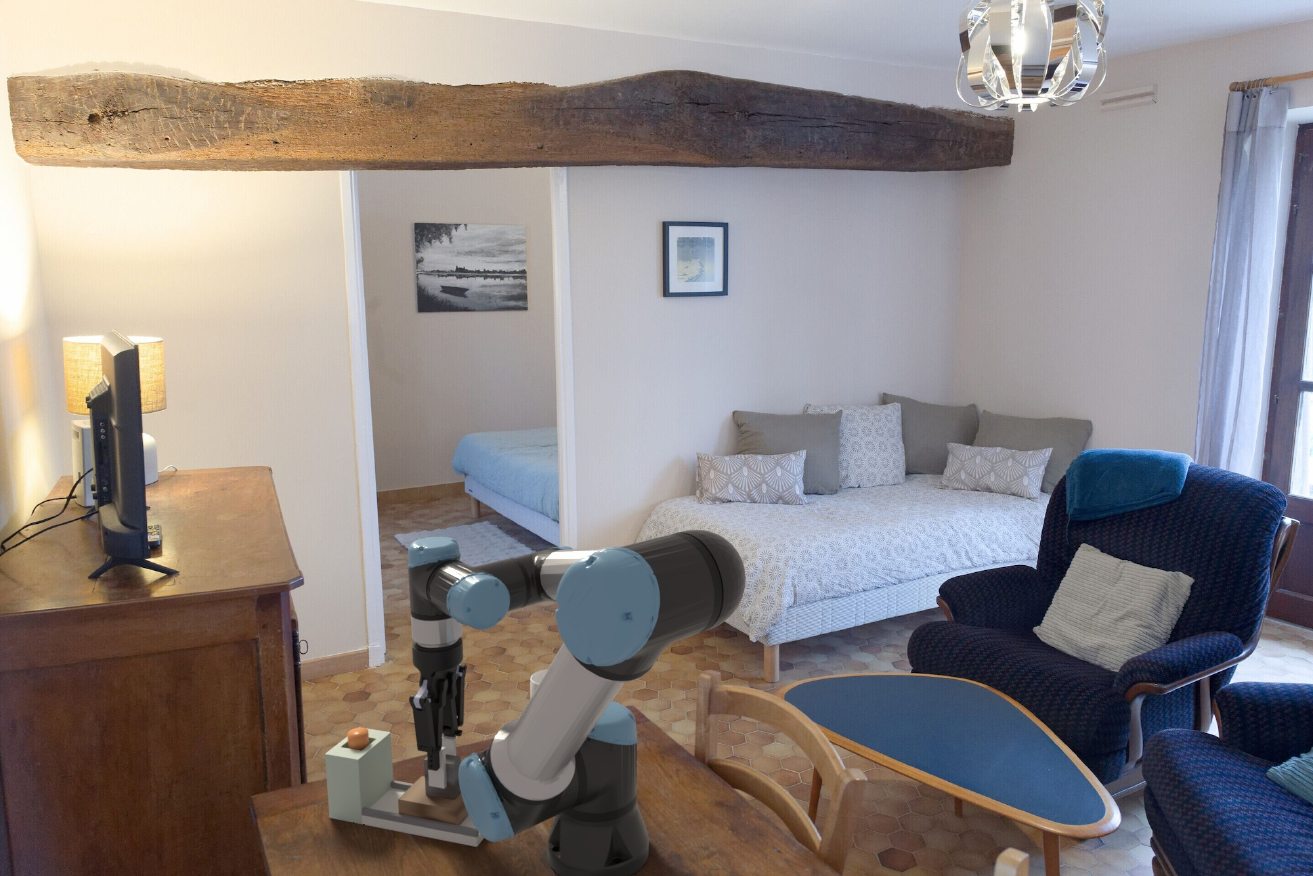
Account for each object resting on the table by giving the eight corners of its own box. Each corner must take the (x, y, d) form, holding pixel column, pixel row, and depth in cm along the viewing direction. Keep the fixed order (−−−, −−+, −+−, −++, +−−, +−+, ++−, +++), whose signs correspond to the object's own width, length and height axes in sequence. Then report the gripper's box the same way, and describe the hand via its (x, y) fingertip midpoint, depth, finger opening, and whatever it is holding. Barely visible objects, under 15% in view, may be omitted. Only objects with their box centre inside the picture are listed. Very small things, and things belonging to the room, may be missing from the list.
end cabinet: (394, 793, 153) (390, 732, 151) (362, 824, 145) (358, 759, 143) (362, 788, 155) (359, 727, 153) (329, 817, 146) (324, 753, 144)
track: (503, 813, 147) (503, 799, 147) (476, 846, 139) (476, 831, 138) (394, 793, 153) (393, 779, 153) (362, 824, 145) (361, 809, 144)
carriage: (478, 802, 147) (476, 750, 146) (456, 827, 141) (453, 773, 139) (422, 792, 150) (420, 741, 149) (398, 816, 144) (396, 763, 142)
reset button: (373, 743, 149) (372, 729, 149) (361, 752, 146) (360, 738, 146) (356, 740, 150) (355, 726, 149) (344, 749, 147) (343, 735, 146)
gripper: (441, 617, 148) (447, 752, 153) (386, 655, 134) (394, 803, 138) (483, 623, 146) (488, 759, 150) (432, 662, 132) (438, 812, 136)
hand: (443, 780), depth 144 cm, fingers closed on carriage, 2 cm apart
